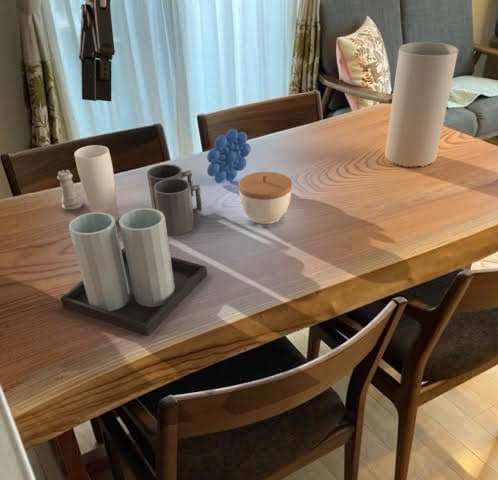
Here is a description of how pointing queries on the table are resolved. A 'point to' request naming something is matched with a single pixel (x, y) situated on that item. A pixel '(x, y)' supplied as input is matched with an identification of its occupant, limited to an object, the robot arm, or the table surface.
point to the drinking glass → (97, 178)
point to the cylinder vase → (419, 102)
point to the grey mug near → (177, 204)
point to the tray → (132, 312)
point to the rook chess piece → (68, 192)
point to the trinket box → (265, 196)
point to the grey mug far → (165, 177)
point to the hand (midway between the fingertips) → (95, 100)
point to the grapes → (228, 156)
